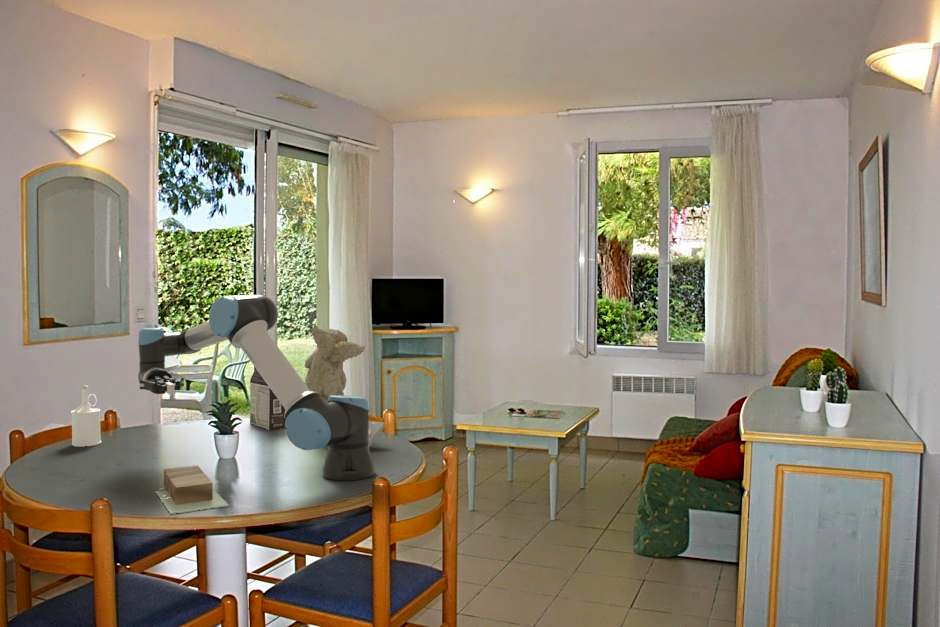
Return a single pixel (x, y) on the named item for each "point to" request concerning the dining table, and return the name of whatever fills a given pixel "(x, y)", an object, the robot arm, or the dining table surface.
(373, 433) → the light switch
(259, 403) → the protein powder
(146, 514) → the dining table surface
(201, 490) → the block
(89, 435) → the white handled jug
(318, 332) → the sculpture
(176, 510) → the mat
